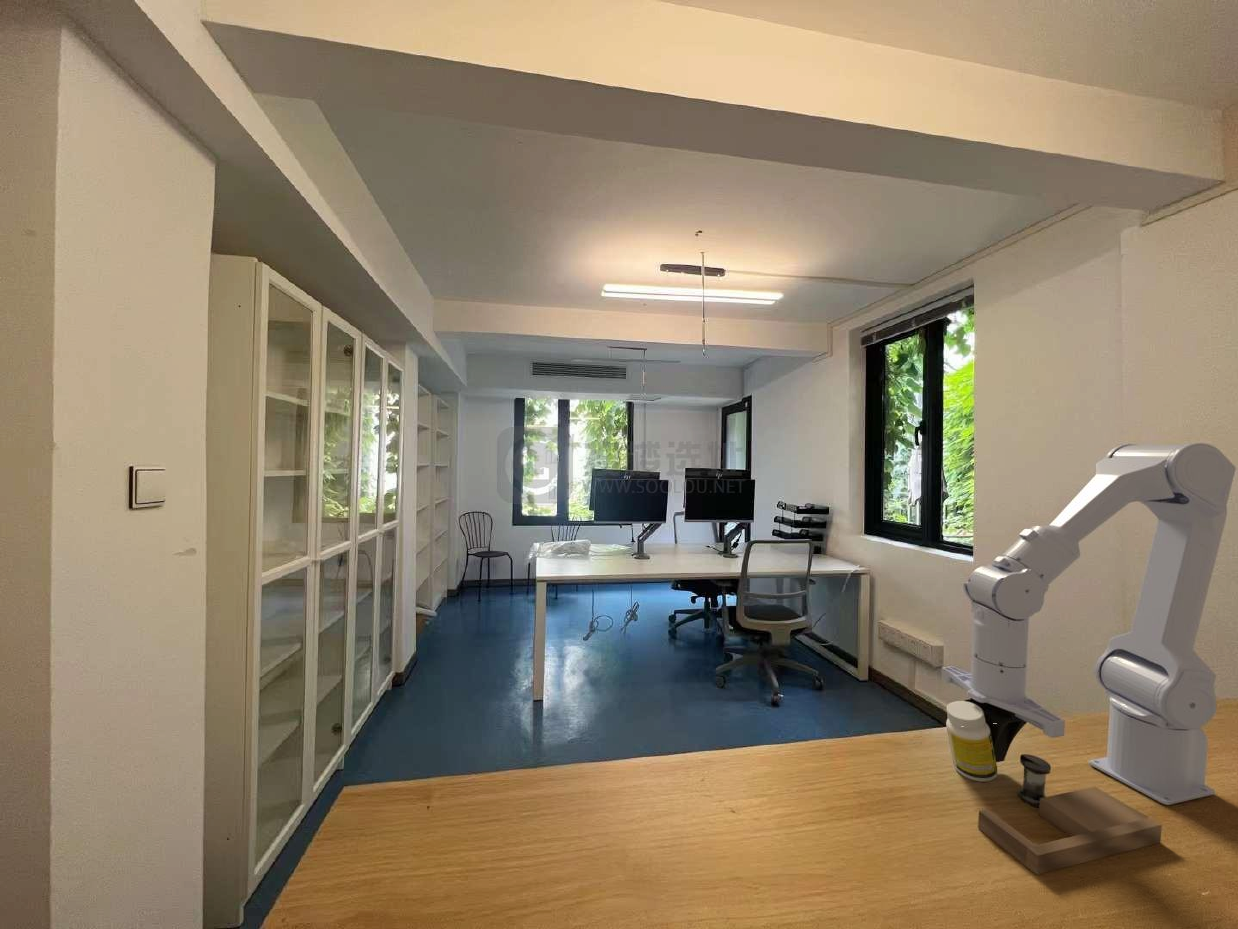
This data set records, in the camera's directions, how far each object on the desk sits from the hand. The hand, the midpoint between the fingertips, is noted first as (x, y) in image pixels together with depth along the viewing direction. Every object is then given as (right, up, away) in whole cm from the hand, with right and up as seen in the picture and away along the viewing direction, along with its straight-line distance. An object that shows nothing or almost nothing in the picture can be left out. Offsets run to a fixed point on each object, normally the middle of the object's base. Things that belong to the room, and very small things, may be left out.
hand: (993, 758), depth 64 cm
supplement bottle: (-3, -1, -1) cm, 3 cm away
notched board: (0, -2, -11) cm, 11 cm away
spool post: (0, -2, -5) cm, 6 cm away
